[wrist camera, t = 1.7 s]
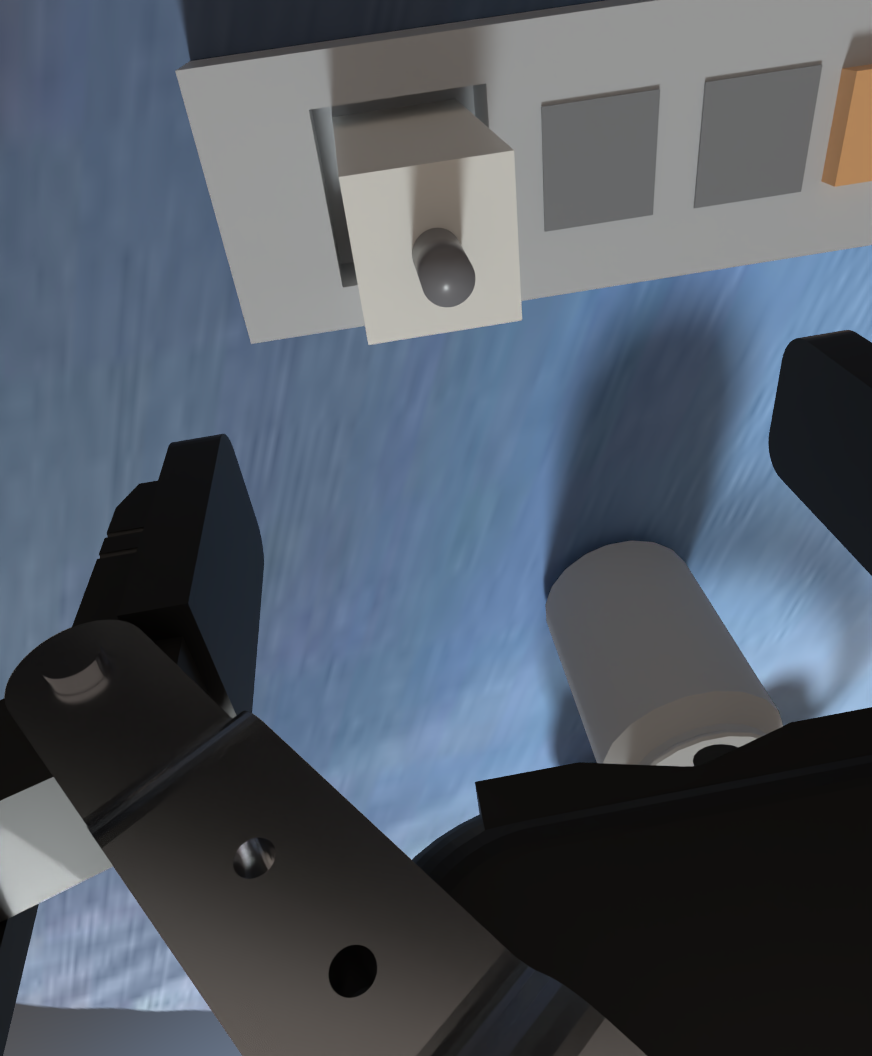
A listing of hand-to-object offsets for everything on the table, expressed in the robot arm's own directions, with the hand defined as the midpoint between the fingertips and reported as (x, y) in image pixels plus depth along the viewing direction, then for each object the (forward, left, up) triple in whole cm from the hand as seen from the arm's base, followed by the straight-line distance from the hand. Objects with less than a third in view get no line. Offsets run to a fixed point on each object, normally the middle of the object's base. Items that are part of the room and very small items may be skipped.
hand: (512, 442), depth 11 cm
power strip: (-5, 0, -19) cm, 19 cm away
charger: (0, 0, -18) cm, 18 cm away
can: (-8, +21, -19) cm, 29 cm away
